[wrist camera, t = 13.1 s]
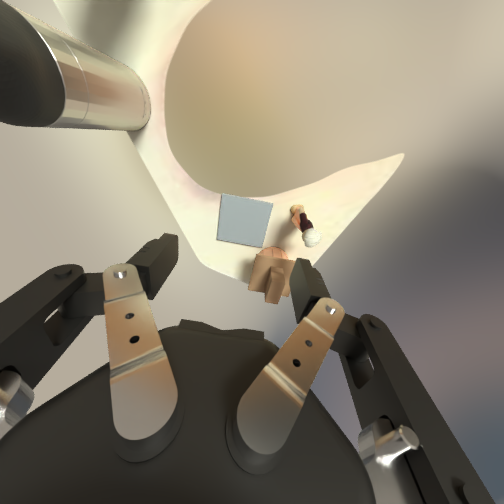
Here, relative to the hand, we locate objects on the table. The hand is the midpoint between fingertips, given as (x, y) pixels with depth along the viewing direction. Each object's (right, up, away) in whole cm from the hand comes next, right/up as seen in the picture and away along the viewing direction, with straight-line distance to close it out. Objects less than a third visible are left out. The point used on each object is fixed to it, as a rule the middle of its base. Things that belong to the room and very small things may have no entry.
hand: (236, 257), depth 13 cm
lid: (+6, -5, +31) cm, 32 cm away
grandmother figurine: (+12, +9, +30) cm, 33 cm away
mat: (-1, +7, +31) cm, 32 cm away
